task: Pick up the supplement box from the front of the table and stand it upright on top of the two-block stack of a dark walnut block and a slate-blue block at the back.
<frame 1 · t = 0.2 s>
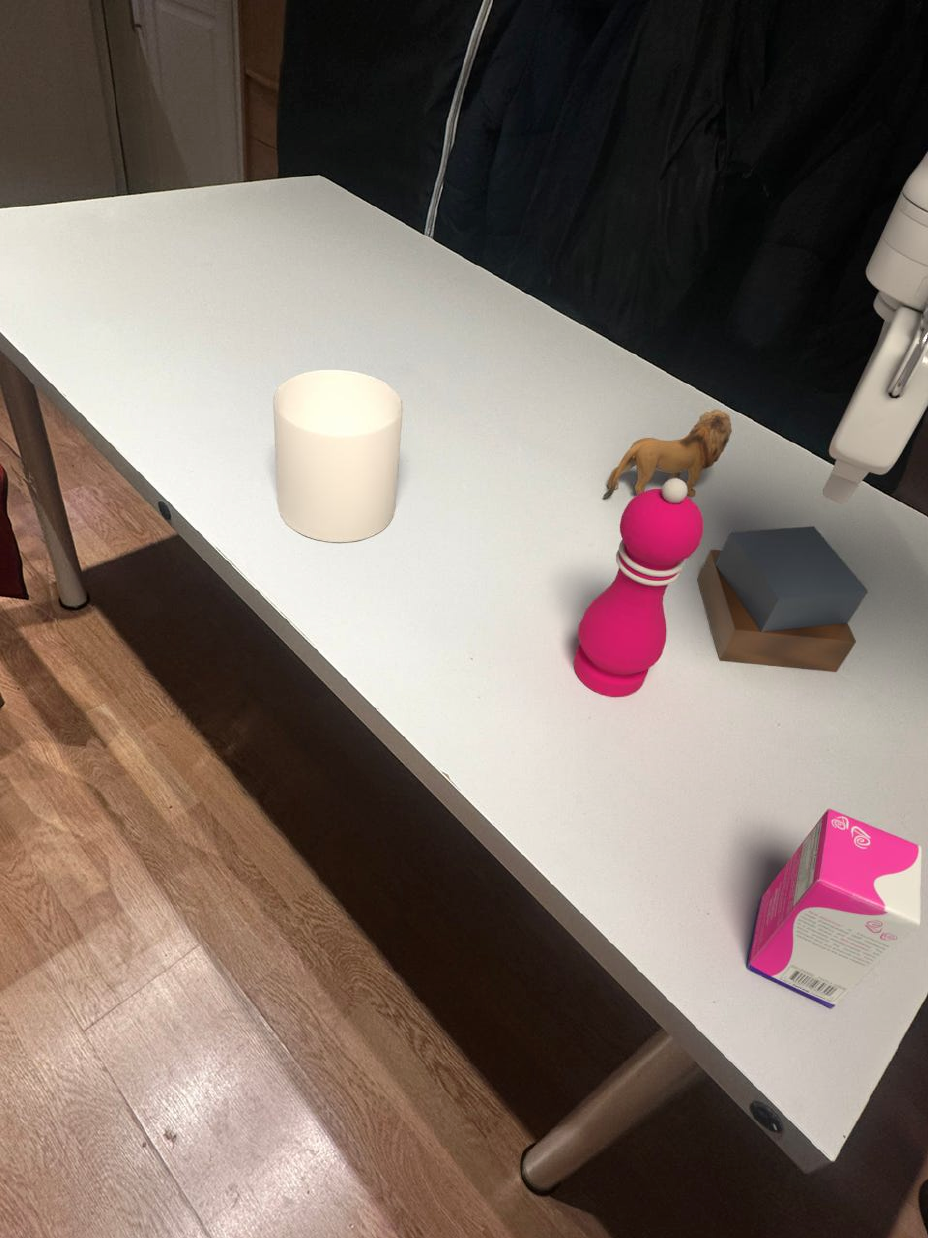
hand: (848, 464, 57), 22 cm above the table, tool pointing down, fingers open, 8 cm apart
pepper mill: (608, 671, 72), on the table
cup: (337, 508, 83), on the table
lion figurine: (658, 488, 93), on the table
top block: (779, 593, 76), point 4 cm above the table, touching base block
base block: (763, 623, 78), on the table, touching top block
supplement box: (792, 951, 55), on the table
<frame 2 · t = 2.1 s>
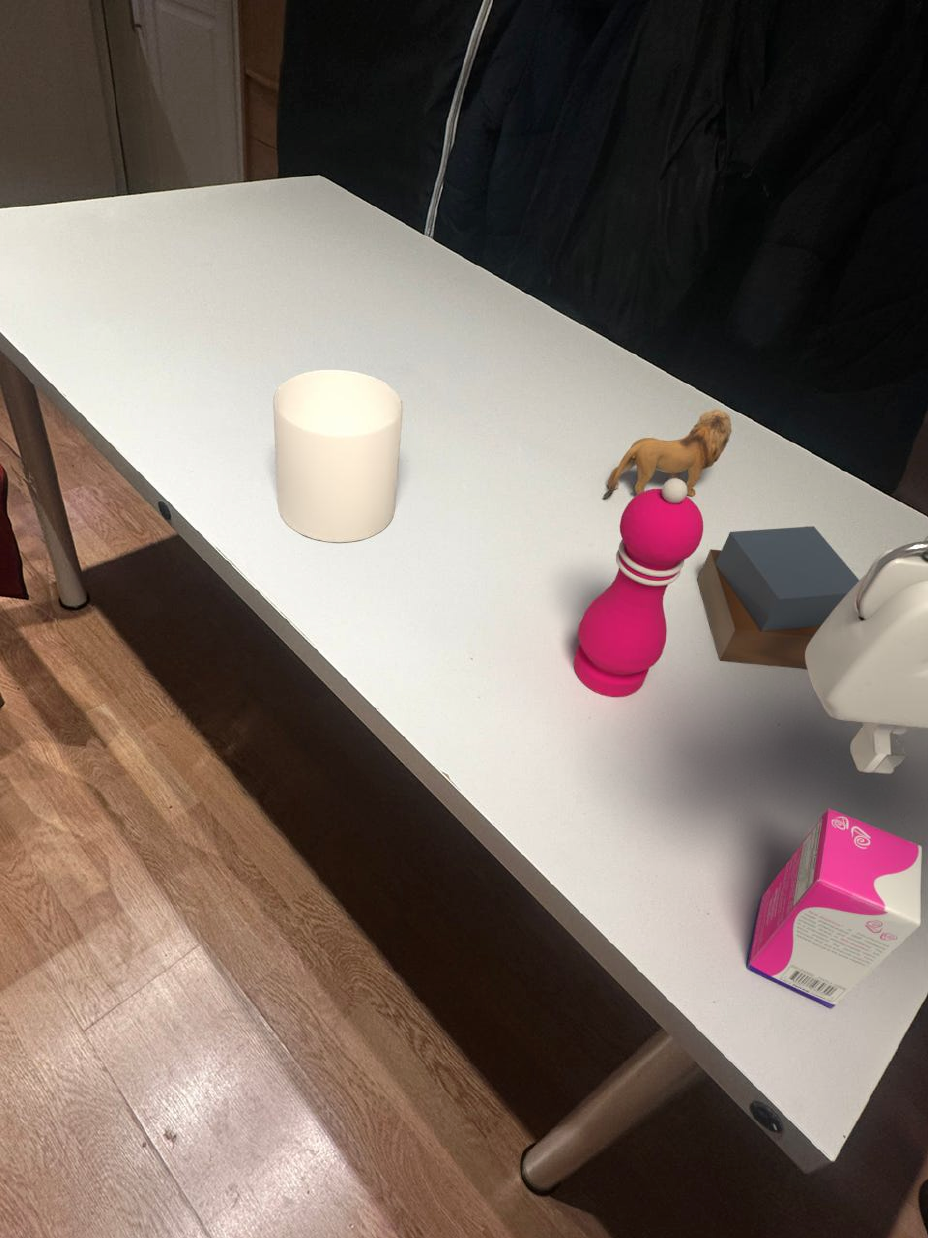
nothing on the table moved.
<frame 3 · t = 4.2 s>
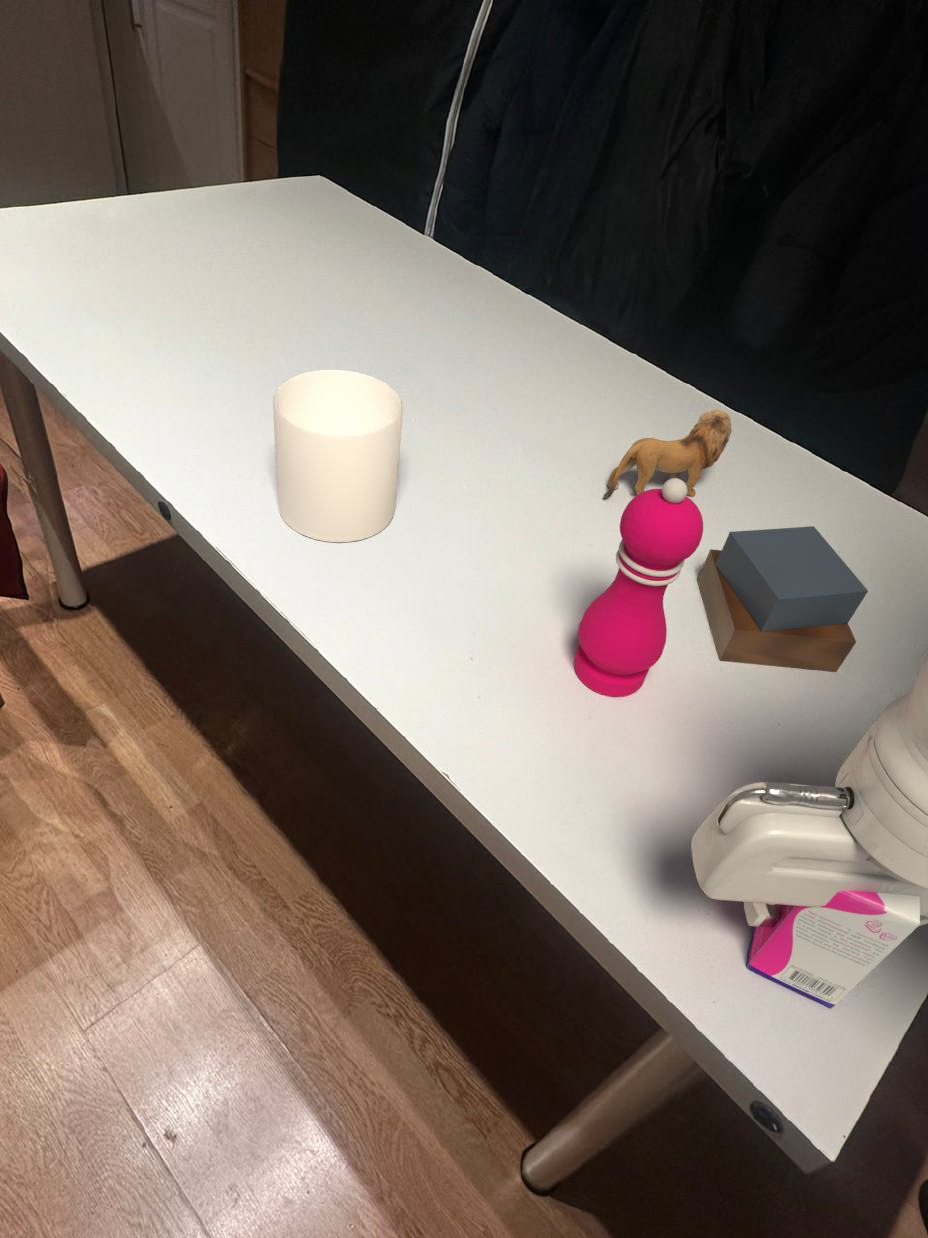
hand: (820, 921, 52), 4 cm above the table, tool pointing down, fingers closed on supplement box, 7 cm apart
supplement box: (792, 951, 55), on the table, touching gripper
everything else where it was.
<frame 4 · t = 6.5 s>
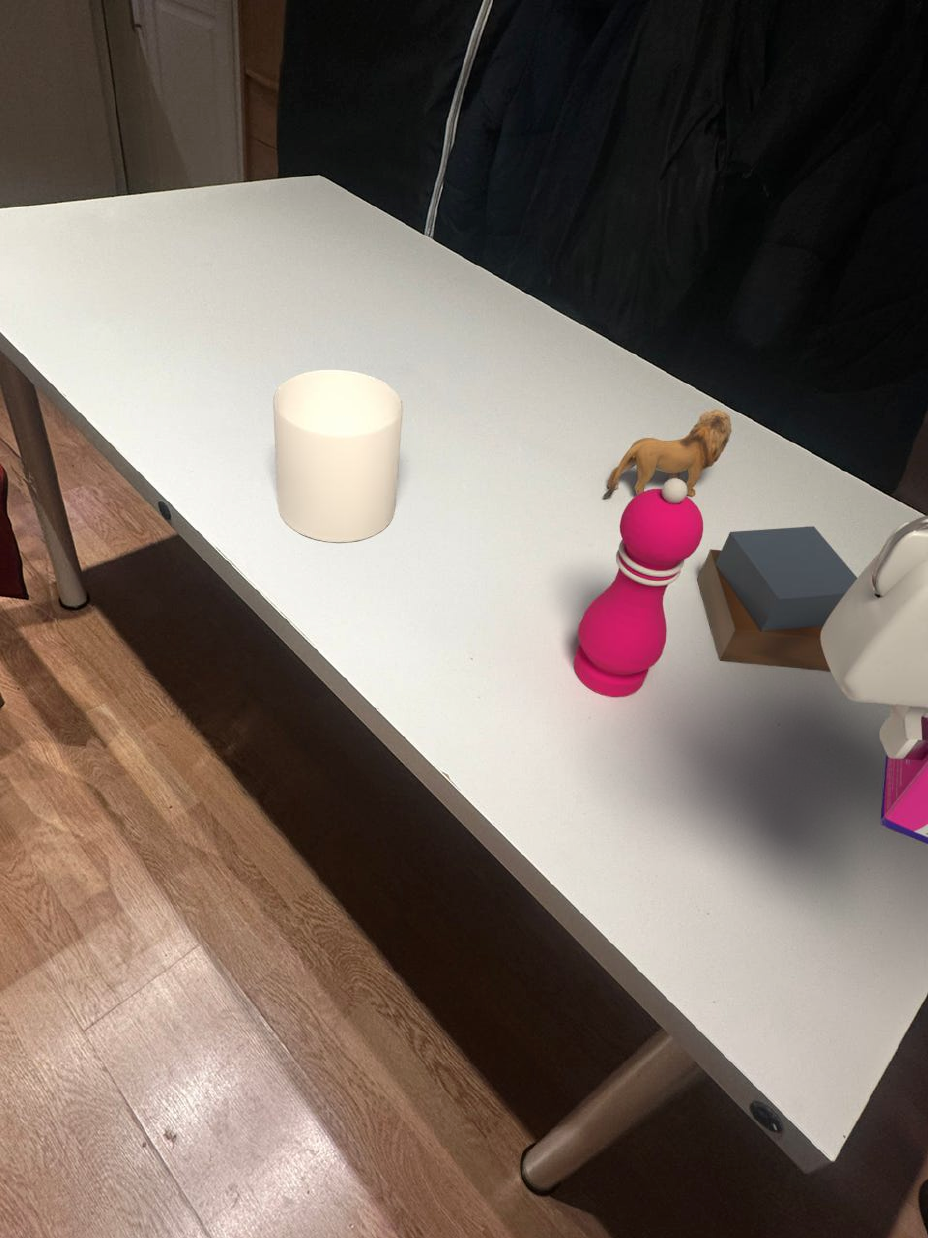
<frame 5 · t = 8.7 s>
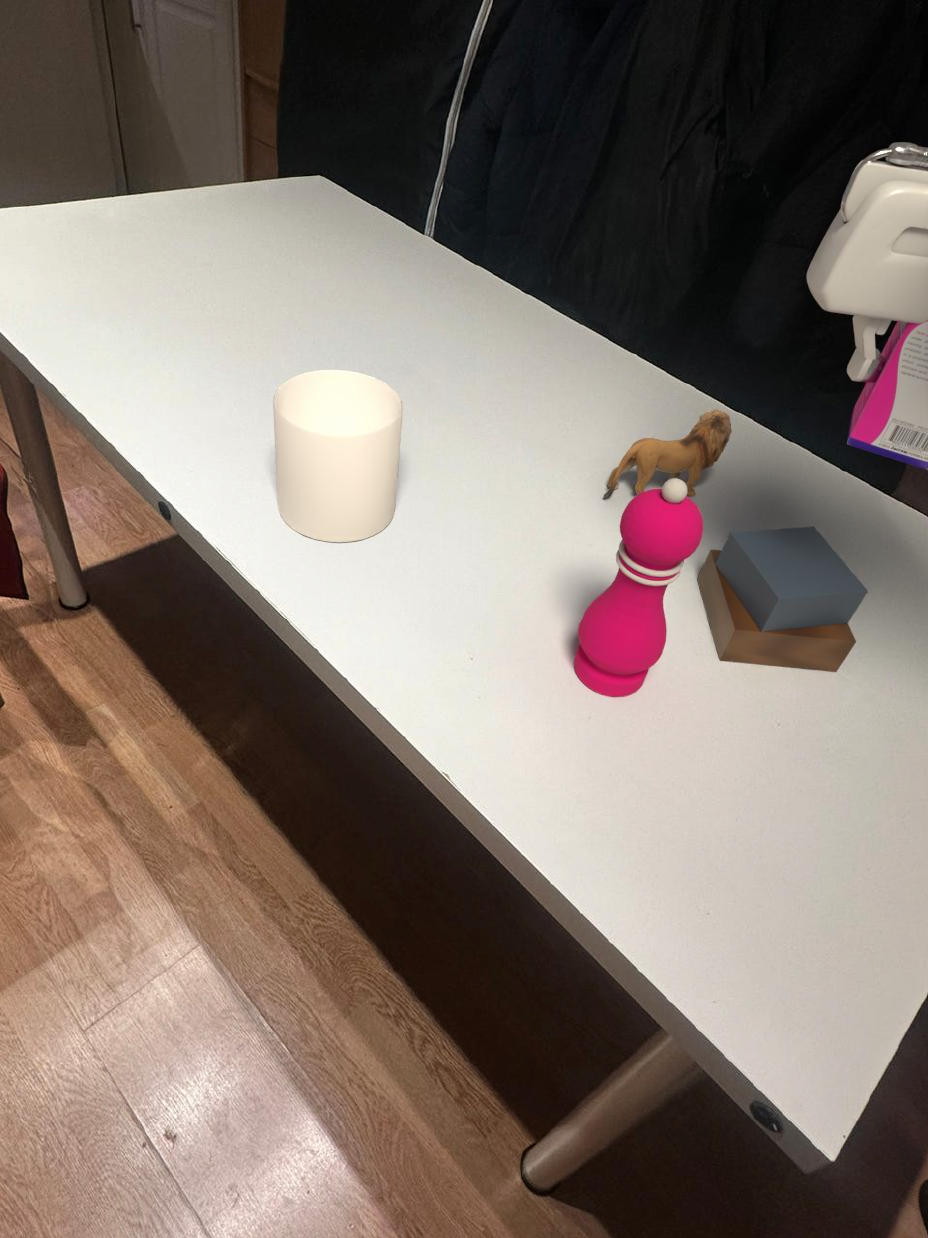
hand: (918, 385, 56), 28 cm above the table, tool pointing down, fingers closed on supplement box, 7 cm apart
supplement box: (886, 441, 59), point 23 cm above the table, touching gripper
everything else where it was.
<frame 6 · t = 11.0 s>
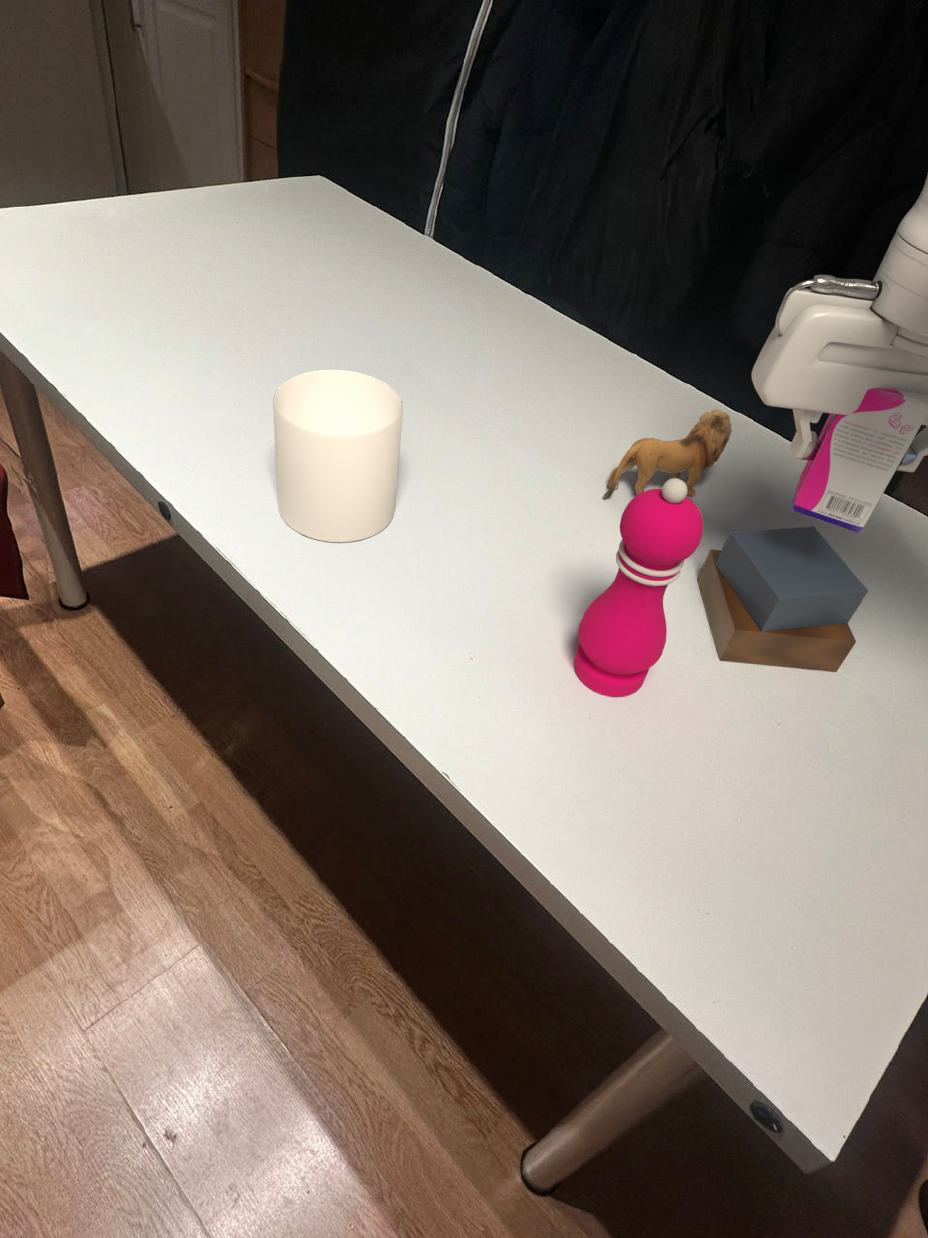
hand: (850, 461, 66), 18 cm above the table, tool pointing down, fingers closed on supplement box, 7 cm apart
supplement box: (827, 506, 69), point 14 cm above the table, touching gripper
everything else where it was.
when the fingers open (12 cm above the table, at t = 13.1 s): supplement box stays where it is, resting on top block.
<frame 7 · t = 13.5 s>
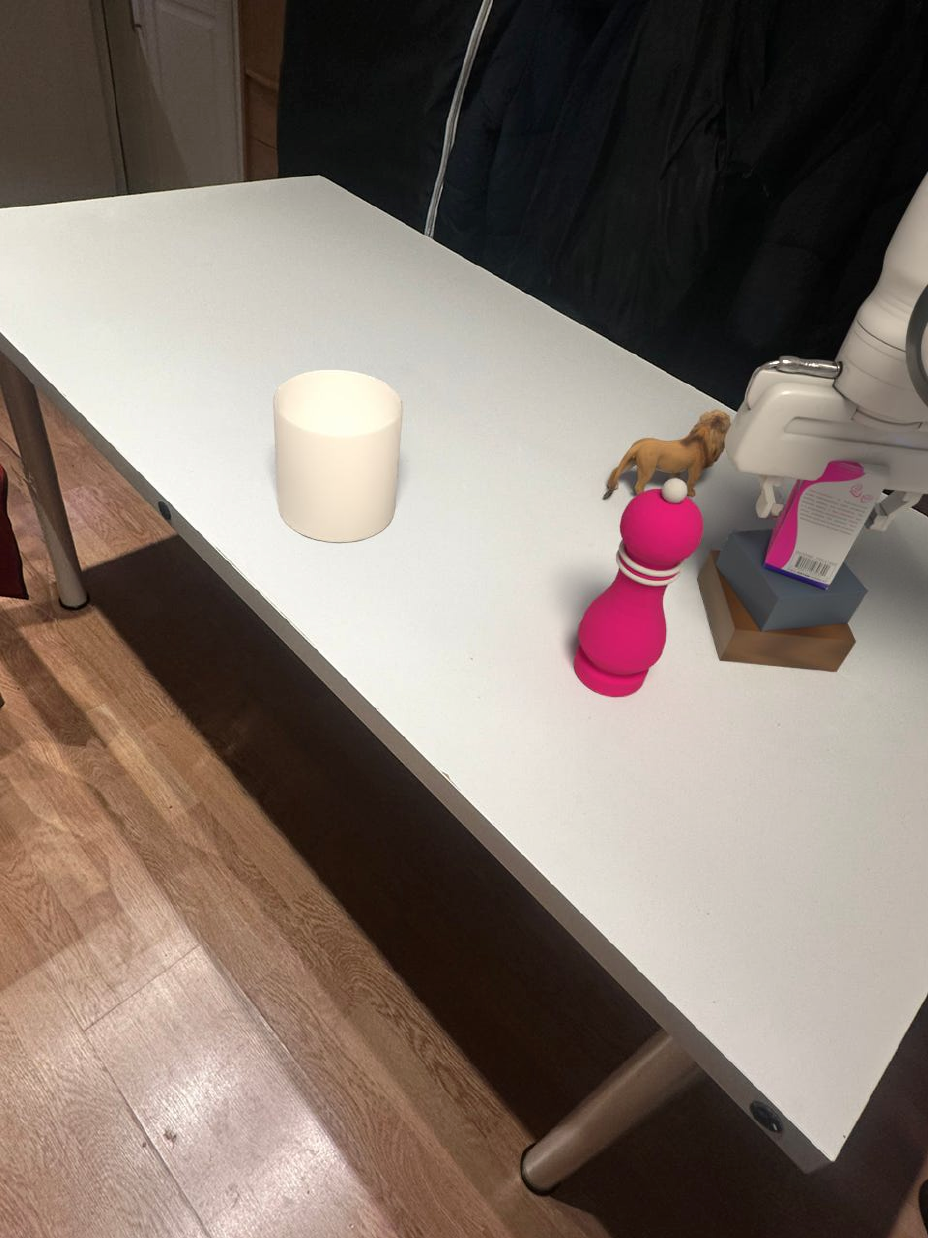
hand: (819, 520, 70), 12 cm above the table, tool pointing down, fingers open, 8 cm apart
top block: (779, 593, 76), point 4 cm above the table, touching base block, supplement box
supplement box: (796, 562, 73), point 8 cm above the table, touching top block
everything else where it was.
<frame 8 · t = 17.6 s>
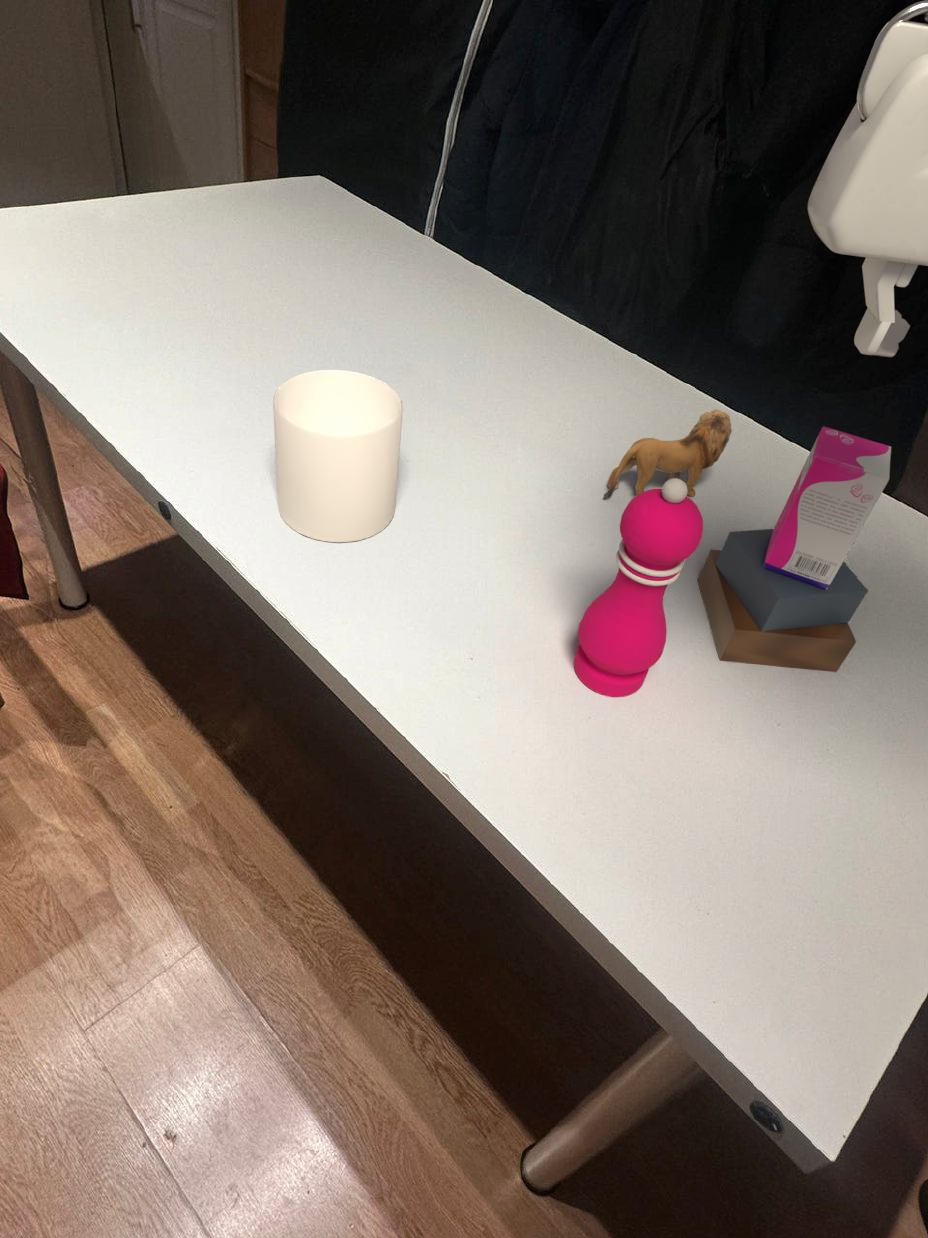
nothing on the table moved.
at the end: supplement box 0.1 cm off-centre on the top block, point 3.8 cm above the top block's base; supplement box tilted 0°; top block 0.0 cm off-centre on the base block, point 4.0 cm above the base block's base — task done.
